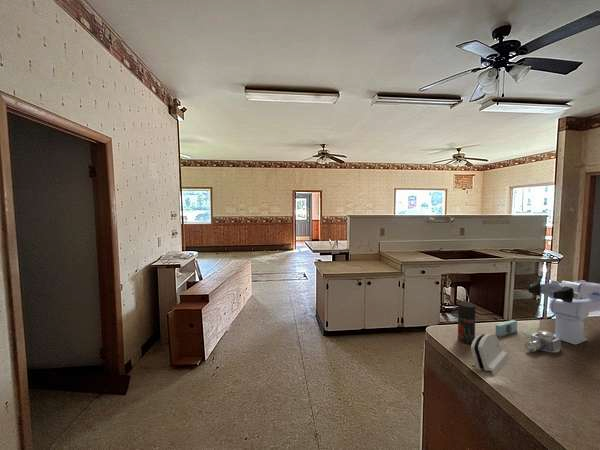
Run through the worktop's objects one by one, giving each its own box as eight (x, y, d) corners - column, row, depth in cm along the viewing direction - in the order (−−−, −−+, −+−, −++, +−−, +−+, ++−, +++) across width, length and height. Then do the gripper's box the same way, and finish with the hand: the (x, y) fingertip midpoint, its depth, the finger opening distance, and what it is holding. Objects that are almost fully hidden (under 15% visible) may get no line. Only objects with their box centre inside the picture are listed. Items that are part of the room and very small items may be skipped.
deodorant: (476, 345, 106) (477, 307, 105) (459, 343, 108) (459, 306, 107) (472, 338, 111) (473, 302, 111) (456, 336, 113) (456, 301, 113)
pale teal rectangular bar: (512, 329, 119) (512, 319, 119) (517, 331, 117) (517, 321, 117) (495, 335, 114) (495, 324, 114) (500, 336, 113) (500, 326, 113)
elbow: (539, 340, 108) (539, 331, 108) (562, 348, 102) (562, 338, 102) (519, 347, 103) (519, 337, 103) (541, 356, 96) (541, 345, 96)
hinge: (494, 376, 86) (482, 343, 88) (478, 374, 90) (467, 343, 92) (509, 357, 97) (498, 328, 99) (494, 357, 100) (484, 329, 102)
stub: (538, 340, 109) (538, 327, 109) (564, 349, 101) (564, 335, 101) (526, 344, 106) (527, 331, 105) (552, 354, 98) (552, 339, 98)
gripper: (539, 276, 114) (520, 277, 108) (586, 284, 100) (567, 286, 95) (538, 293, 114) (519, 295, 108) (585, 303, 100) (566, 306, 95)
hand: (541, 292), depth 101 cm, fingers open, 7 cm apart
